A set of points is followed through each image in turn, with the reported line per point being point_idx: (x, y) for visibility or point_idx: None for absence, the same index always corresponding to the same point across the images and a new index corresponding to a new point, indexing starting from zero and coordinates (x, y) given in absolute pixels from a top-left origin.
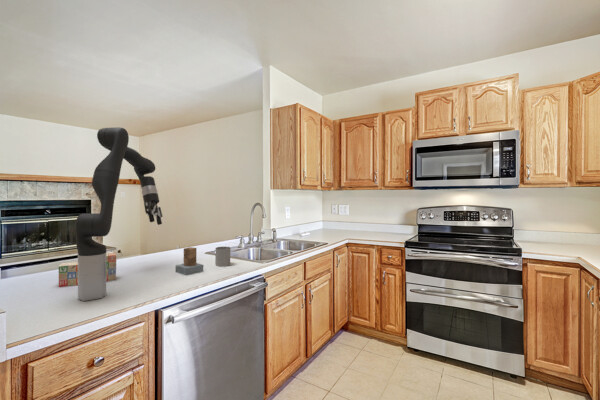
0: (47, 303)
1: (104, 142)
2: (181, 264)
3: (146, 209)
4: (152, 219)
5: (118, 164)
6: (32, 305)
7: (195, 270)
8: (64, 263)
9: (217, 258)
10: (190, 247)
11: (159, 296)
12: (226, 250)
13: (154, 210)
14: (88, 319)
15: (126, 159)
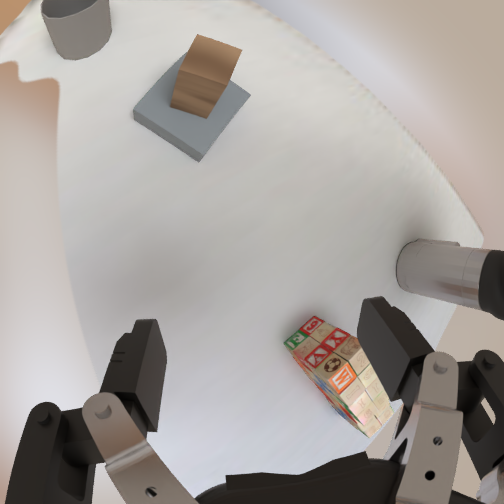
0: (429, 315)
1: None
2: (185, 136)
3: (484, 431)
4: (399, 311)
5: None
6: (432, 329)
7: None
8: (370, 432)
9: (101, 27)
10: (187, 62)
11: (397, 125)
12: None
13: (429, 414)
14: (460, 197)
15: None
